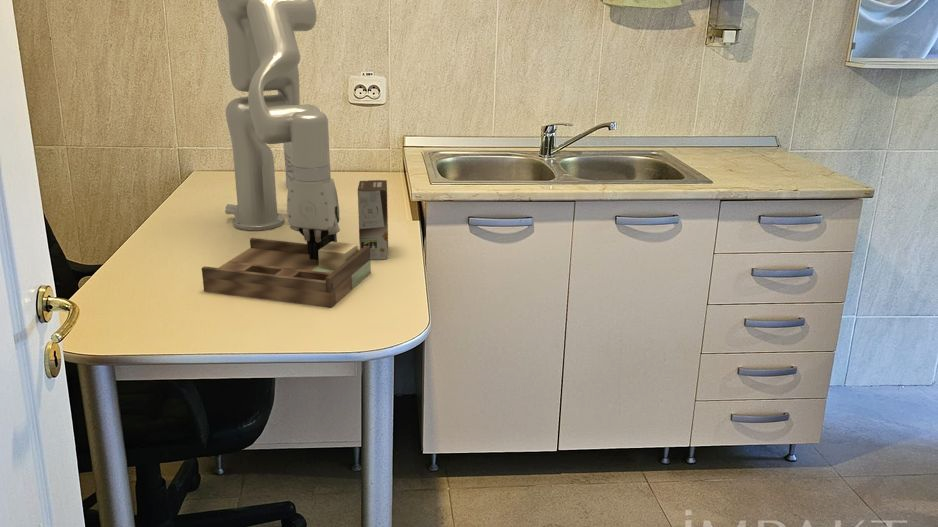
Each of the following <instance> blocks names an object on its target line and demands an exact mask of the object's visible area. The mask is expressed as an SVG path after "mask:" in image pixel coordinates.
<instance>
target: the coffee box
mask: <svg viewBox="0 0 938 527" xmlns="http://www.w3.org/2000/svg"><path fill="white" fill-rule="evenodd" d="M357 206H358V237H359V250H361V249H362V248H363V247H365V246H370V260H387V259H388V253H389V223H388V222H389V215H388V212H389V211H388V209H389V208H388V181H387V179H386V180H384V179H383V180H381V179H378V180H377V179H376V180H374V179H371V180H359V182H358V186H357Z"/></svg>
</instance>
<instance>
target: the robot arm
mask: <svg viewBox="0 0 938 527" xmlns="http://www.w3.org/2000/svg"><path fill="white" fill-rule="evenodd" d="M216 2H217V6H218V9H219V14H220V15H221V18H222V21H223V23H224V25H225V29H226V34H227V46H228V47H227V48H228V63H229V64H228V65H229V76H230V81H231V86H232V87H233V88H234V89H235V90H237V91H238V92H245V93H248V95H247V96H241V97H237V98H234V99H232V100H230V101H229V102H228V104H227V105H226V106H225V119H226V120H225V121H226V124H227V127H228V131H229V136H230V141H231V145H232V146H231V148H232V154H233V155H232V156H233V157H232V158H233V166H234V167H233V168H234V179H235V190H236V191H235V192H236V201H237V205H236V204H229V203H228V204H226V205H225V210H224V213H225V214H227V215H233V216H234V217H233V219H232V226H233V227H234V228H237V229H239V230H242V231H243V230H244V231H264V230H269V229H275V228H278V227H280V226H282V225H283V224H284V223H285V217H284V216H283V215H282V214H280V213H278V203H277V202H278V201H277V190H276V189H277V188H276V175H275V162H274V161H275V159H274V158H275V157H274V154H273V150H272V149H271V147H270V146H269V145H278V144H284V143H288V142H291V149H292V165H291V166H288V167H287V171H288V172H291V173H292V177H293V178H291V179H290V180H289V186H288V187H287V194H286V195H287V196H286V197H287V198H286V219H287V223H288V224H287V225H289V228H290V229H291V230H292V231H293V230H294V231H296V232H299V233H300V234H301V235H302V236H303V238H304V241H306V244H307V245H308V254H309V258H310V260H313V259H314V260H318V259H319V256H318V250H319V249H321V248H322V247H324V239H325V238H326V236H327V235H331V234H336V233H337V234H338V233H339V232H340V231H341V230H340V226H339V223H340V205H339V197H338V193H337V192H338V191H337V187H336V184H335V180H334V178H332V177H331V176H332V175H331V174H332V173H331V161H330V160H331V159H330V157H331V156H330V155H331V154H330V136H329V133H330V132H329V119H328V116H327V114H326V113H324V112H323V111H321V110H320V108H319V107H318V106H316V105H314V104H309V103H307V104H304V103H303V104H301V102H300V100H301V99H300V95H301V94H300V74H299V72H300V71H299V66H298V65H299V64H300V61H301V54H300V49H299V46H298V44H297V39H296V36H295V35H296V34H295V32H308V31H312V29H314V27H315V26H316V22H317V10H316V8H317V7H316V5H315V3H314V0H217V1H216ZM267 91H268V92H271V91H277V94H269V95H268V94H267V95H264V92H267ZM315 230H316V233H315Z"/></svg>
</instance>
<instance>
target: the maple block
mask: <svg viewBox="0 0 938 527" xmlns="http://www.w3.org/2000/svg"><path fill="white" fill-rule="evenodd" d="M358 247H359V246H358V244H354V243H347V242H339V241H337V242H330V243H329V244H327V245H325V246H324V247H322V248H321V249H319V250H318V256H319V269H327V270H334V271H335V270H336V269H337V268H338V267H340V266H341V265H342V264H343V263H345V262H346V261H347V260H348V259H350V258H351V257H352V256H353V255H355V254H356V253H357V252H358Z"/></svg>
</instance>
